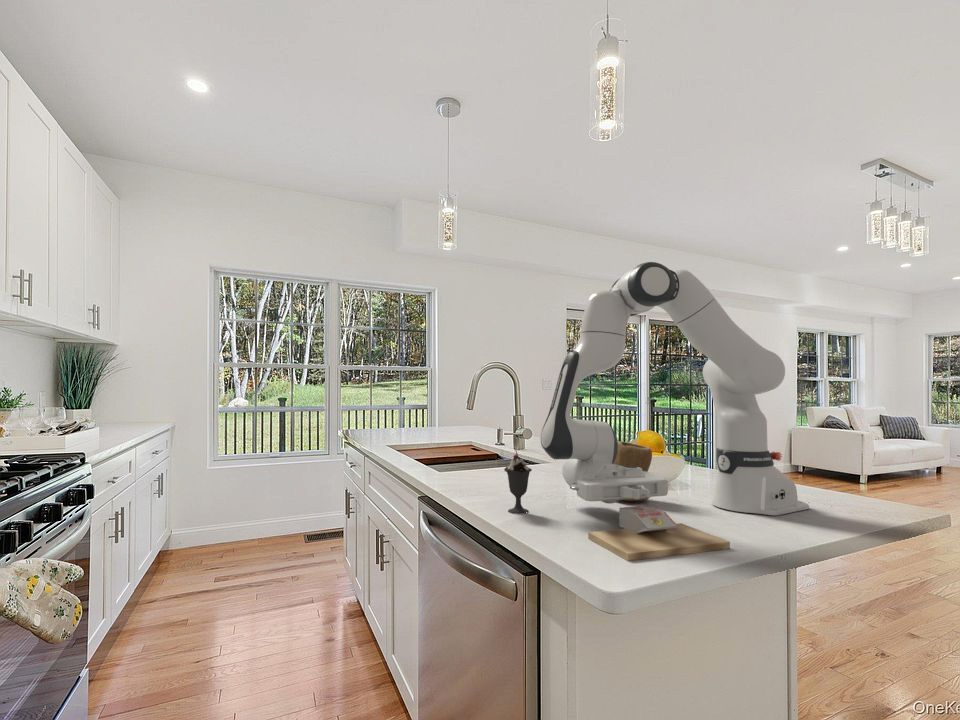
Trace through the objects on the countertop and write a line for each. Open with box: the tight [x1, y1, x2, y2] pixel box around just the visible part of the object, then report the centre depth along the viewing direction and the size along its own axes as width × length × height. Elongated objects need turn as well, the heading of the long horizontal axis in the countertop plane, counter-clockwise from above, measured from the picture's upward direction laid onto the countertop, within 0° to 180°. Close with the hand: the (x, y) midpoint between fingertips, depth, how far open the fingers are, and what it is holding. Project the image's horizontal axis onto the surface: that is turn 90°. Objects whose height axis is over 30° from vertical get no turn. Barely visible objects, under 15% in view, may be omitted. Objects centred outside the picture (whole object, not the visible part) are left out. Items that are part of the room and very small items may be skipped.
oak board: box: [587, 522, 731, 562], centre depth 99 cm, size 22×14×1 cm, turn 108°
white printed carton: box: [618, 505, 679, 534], centre depth 104 cm, size 4×7×10 cm
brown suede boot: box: [614, 440, 653, 502], centre depth 139 cm, size 15×12×15 cm
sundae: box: [504, 447, 533, 514], centre depth 124 cm, size 7×7×15 cm
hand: (643, 495), depth 105 cm, fingers closed
